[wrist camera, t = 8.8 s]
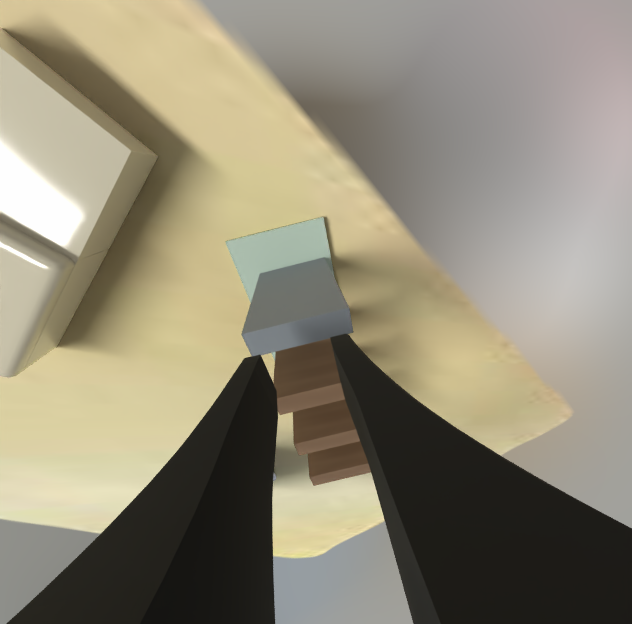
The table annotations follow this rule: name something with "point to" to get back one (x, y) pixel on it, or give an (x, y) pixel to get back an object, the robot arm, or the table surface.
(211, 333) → the table surface
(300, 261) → the sage mat
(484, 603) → the robot arm
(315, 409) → the walnut domino
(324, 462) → the walnut domino
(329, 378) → the walnut domino
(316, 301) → the charcoal end domino
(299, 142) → the table surface
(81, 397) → the table surface
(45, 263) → the electrical outlet
